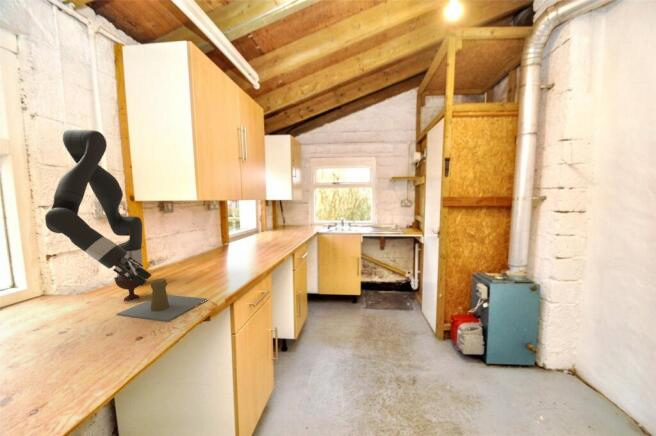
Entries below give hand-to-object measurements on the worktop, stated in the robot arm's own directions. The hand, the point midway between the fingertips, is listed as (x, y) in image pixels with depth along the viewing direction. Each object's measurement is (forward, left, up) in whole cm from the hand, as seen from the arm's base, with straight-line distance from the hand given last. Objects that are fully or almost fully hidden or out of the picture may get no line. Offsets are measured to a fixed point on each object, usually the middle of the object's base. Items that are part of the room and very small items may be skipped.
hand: (147, 280), depth 98 cm
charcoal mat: (+5, +3, -11) cm, 13 cm away
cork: (+4, +1, -11) cm, 12 cm away
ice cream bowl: (-16, +7, -11) cm, 21 cm away
